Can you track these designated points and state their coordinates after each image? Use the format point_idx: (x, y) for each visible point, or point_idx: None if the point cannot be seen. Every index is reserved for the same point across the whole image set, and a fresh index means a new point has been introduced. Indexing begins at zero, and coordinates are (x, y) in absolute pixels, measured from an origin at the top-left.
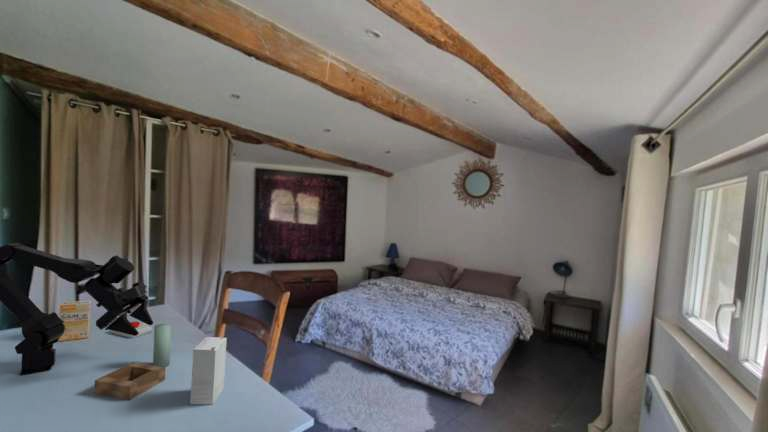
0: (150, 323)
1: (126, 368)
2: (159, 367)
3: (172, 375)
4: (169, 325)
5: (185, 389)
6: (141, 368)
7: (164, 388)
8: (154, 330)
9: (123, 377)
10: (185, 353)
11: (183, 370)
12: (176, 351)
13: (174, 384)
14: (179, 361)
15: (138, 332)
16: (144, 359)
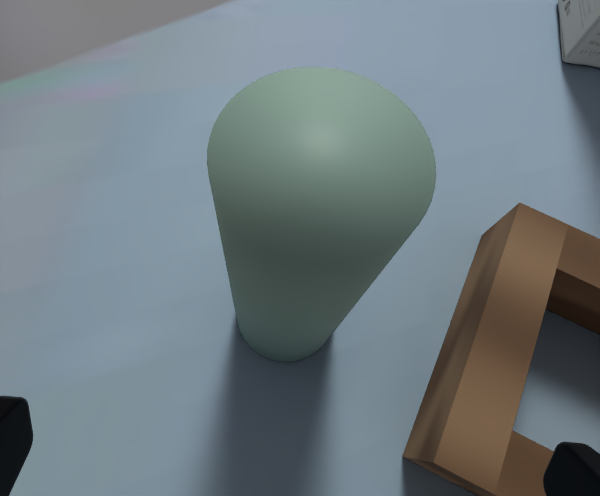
0: (14, 445)
1: (545, 466)
2: (516, 238)
3: (431, 211)
4: (308, 82)
5: (571, 125)
6: (533, 351)
7: (570, 212)
8: (372, 269)
9: None
10: (110, 213)
11: None
12: (49, 280)
13: (529, 179)
14: None
15: (570, 447)
16: (150, 475)
